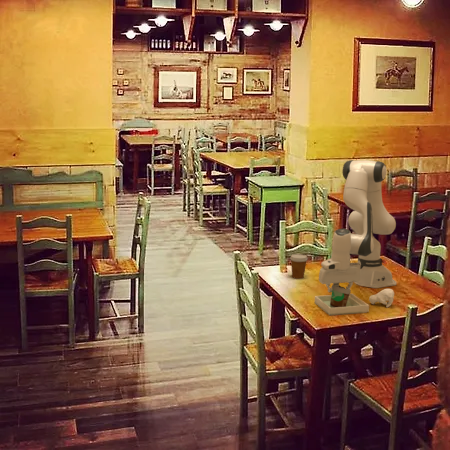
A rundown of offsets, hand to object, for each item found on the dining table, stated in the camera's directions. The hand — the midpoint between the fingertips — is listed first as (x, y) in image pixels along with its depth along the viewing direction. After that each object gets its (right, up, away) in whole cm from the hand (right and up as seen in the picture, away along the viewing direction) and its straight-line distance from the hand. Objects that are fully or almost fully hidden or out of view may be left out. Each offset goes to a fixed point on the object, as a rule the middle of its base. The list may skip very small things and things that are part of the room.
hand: (338, 291), depth 332 cm
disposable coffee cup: (-14, +3, +50) cm, 52 cm away
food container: (-2, -7, +1) cm, 8 cm away
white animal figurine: (+22, -8, +7) cm, 24 cm away
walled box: (+1, -8, +2) cm, 9 cm away
